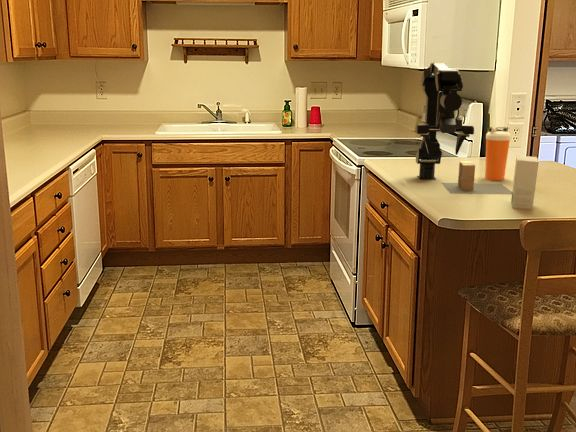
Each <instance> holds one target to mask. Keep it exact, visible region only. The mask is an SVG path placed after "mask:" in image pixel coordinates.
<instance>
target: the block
mask: <svg viewBox="0 0 576 432" xmlns="http://www.w3.org/2000/svg"><path fill="white" fill-rule="evenodd" d="M475 173H476V164H475V163H473V162H472V161H466V160H465V161H462V160H461V161H459V163H458V177H457V183H458V187H459V188H460V189H461V190H473V188H474V183H475Z"/></svg>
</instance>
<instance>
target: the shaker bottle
mask: <svg viewBox="0 0 576 432" xmlns="http://www.w3.org/2000/svg"><path fill="white" fill-rule="evenodd" d="M509 129H510V127H507V126H505V127H504V126H503V127H502V126H499V127H493V126H490V127H488V128H487V133H486V134H485V162H484V163H485V166H484V167H485V168H484V170H485V171H484V178H485V179H486V180H491V181H504V180H505V176H506V167H507V161H508V153H509V147H510V142H511V138H512V137H511V133H510V132H509V131H508V130H509Z"/></svg>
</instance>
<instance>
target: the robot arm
mask: <svg viewBox="0 0 576 432" xmlns="http://www.w3.org/2000/svg"><path fill="white" fill-rule="evenodd" d="M462 77H463V76H462V75H461V73H460V72H459V70H458V69H450V68H449V67H448V66H447V64H446V62H443V61H441V62H439V61H437V62H436V61H433V62H430V65H429V66H428V67H427V68H426V69H425V70H424V71H423V73H422V76H421V80H420V82H421V85H420V86H421V87H422V92H423V93H424V96H425V98H426V99H425V102H426V103H425V117H424V123H416V124H415V130H414V132H415V133H416V134H417V135H419V136H420V137H422V139H421V140H420V142H419V145H418V146H419V147H417V149H416V150H417V151H416V154H415V163H416V164H417V165H419V173H418V175H417V176H416V177H417V179H418V180H429V181H431V180H433V181H435V180H437V178H436V177H435V174H436V173H435V171H436V170H435V169H436V165H440V164H441V159H442V156H443V155H442V154H443V152H442V149H441V144H440V142H439V141H438V138H437V132H439V133H442V134H446V133H447V134H455V133H456V132H457V137H456V144H455V155H458V153H459V152H460V149H461V147H462V144H463V142H464V141H465V140H466V139H467V138H470V136H471V135H474V134H475V127H474V126H473V125H472V124H470V123H463V118H462V117H456V116H455V111H458V110H459V109H460V108H461V107H462V104H463V100H462V97H461V95H459V94H458V92H462V90H463V89H464V83H463V78H462Z"/></svg>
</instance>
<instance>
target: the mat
mask: <svg viewBox="0 0 576 432" xmlns="http://www.w3.org/2000/svg"><path fill="white" fill-rule="evenodd" d="M441 185H442V186H443V187H444V188H445V190H447V191H448V192H449V194H461V195H462V194H463V195H465V194H469V195H472V194H473V195H512V190H510V189H509V188H508V187H507V186H505V185H504V184H502V183H494V182H493V183H486V182H484V183H483V182H482V183H481V182H479V183H477V182H474V188H473V190H461V189H460V188H459V187H458V182H441Z"/></svg>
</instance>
